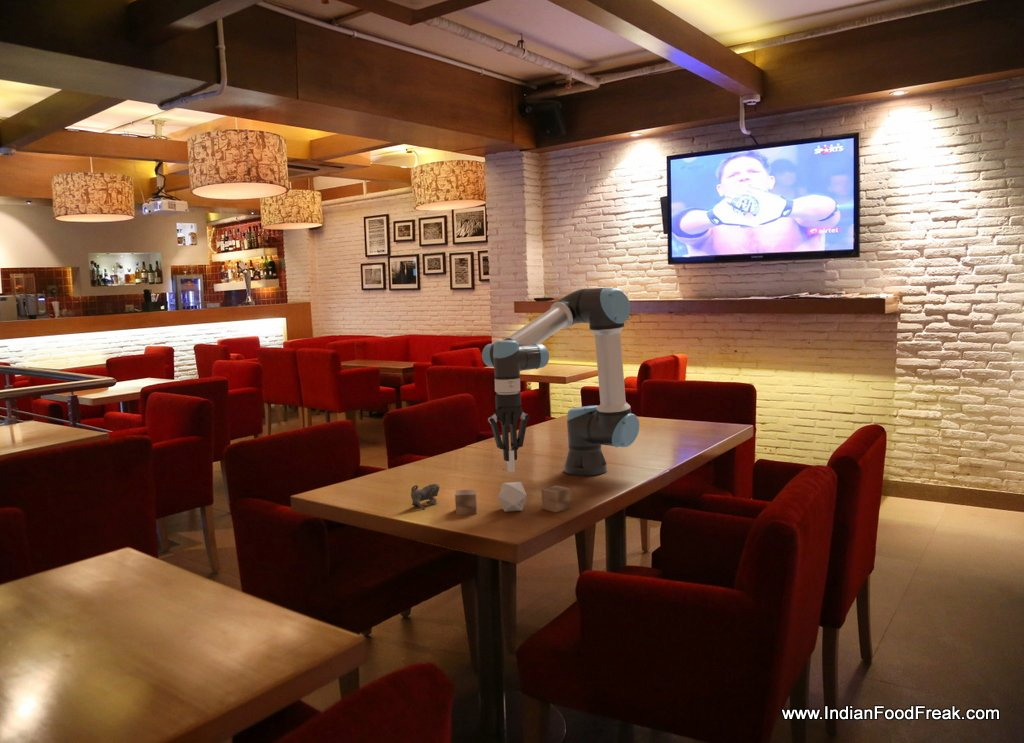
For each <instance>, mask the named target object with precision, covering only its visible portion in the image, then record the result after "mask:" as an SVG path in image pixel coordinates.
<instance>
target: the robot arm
mask: <svg viewBox="0 0 1024 743" xmlns="http://www.w3.org/2000/svg"><path fill="white" fill-rule="evenodd" d="M631 311H632V310H631V303H630V300H629V298H628V296H627V294H626V293H625V292H624V291H623V290H622V289H620V288H617V287H608V286H607V287H599V288H598V287H596V288H594V287H593V288H581V289H577V290H575V291H573V292H570V293H568V294H566V295H565V296H563V297H561V298H560V299H558V300H557V301H555V302H554V303H552V304H551V305H550V308H549V309H548V310H547V311H545V312H544V313H542V314H541V315H539V316H538V317H536V318H534V319H532V321H530V322H529V323H527V324H526V325H524V326H523V327H521V328H519V329H518V330H516V331H515V332H513V333H512V334H511V335H509V336H507V337H506V338H504V339H501V340H497V341H494V342H493V343H488V344H486V345H485V346H484V348H483V349H482V352H481V358H482V361H483V363H484V365H486V366H487V367H489V368H493V371H494V373H493V374H494V392H495V393H496V394H495V396H494V397H495V409H494V412H493V415H491V416H490V417H487V422H488V424H490V427H491V431H492V434H493V438H494V442H495V445H496V447H497V448H498V449H500V450H502V452H503V460H504V461H505V462H506V471H507V472H509V473H515V472H516V468H515V466H516V465H515V461H517V459H518V450H519V449H520V448H522V447H523V446H524V441H525V436H526V430H527V425H528V422H529V420H530V418H531V416H530V414H528V413H525V412H524V411H523V408H522V398H521V397H522V395H521V371H528V370H529V371H531V370H539V369H542V368H545V367H546V366H547V365H548V363H549V360H550V353H549V349H548V348H547V347H546V346H545V345H544V344H542V342H544V341H546V340H547V339H548V338H550V337H552V336H553V335H554V334H556V333H558V332H559V331H560V330H561V329H568V328H570V327H572V326H573V325H576V324H584V323H585V324H588V325H589V331H591V333H592V334H594V344H595V353H596V354H595V355H596V365H597V366H596V367H597V378H598V379H597V380H598V389H599V390H598V391H599V401H600V404H599V405H586V406H578V407H574V408H570V409H569V410H568V412H567V416H566V417H567V420H566V424H567V440H568V441H567V443H568V449H567V450H568V451H567V455H566V458H565V462H564V465H563V467H564V470H563V471H564V473H566V474H567V475H570V476H571V475H572V476H581V477H582V476H583V477H584V476H596V475H602V474H605V473H606V472H607V471H608V465H607V461H606V458H605V455H604V452H603V449H602V446H609V447H614V448H628V447H631V445H632V444H634V442H635V441H636V439H637V438H638V436H639V432H640V420H639V418H638V417H637V415H636V414H634V413H632V408H631V405H630V404H629V403H628V402H627V401H626V390H625V389H626V388H625V377H624V364H623V361H624V360H623V351H622V350H623V349H622V337H621V336H622V335H621V332H622V331H623V329H624V328H625V323H626V322H627V321H628V320H629V318H630V315H631ZM519 419H520V422H519V425H518V421H519ZM498 421H499V422H500V426H501V433H500V430H499V427H498V423H497V422H498ZM518 426H519V427H518ZM517 428H518V431H517ZM509 438H510V439H509Z"/></svg>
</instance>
